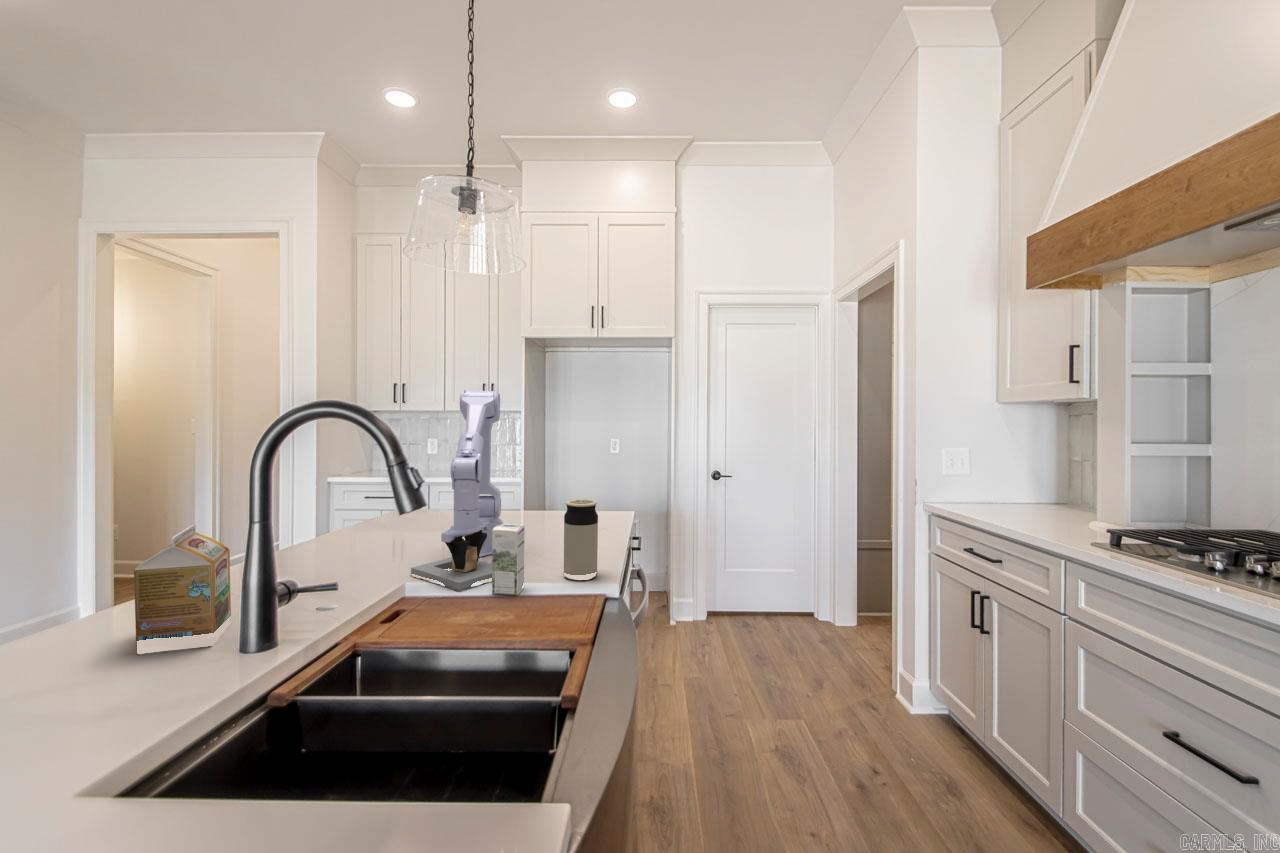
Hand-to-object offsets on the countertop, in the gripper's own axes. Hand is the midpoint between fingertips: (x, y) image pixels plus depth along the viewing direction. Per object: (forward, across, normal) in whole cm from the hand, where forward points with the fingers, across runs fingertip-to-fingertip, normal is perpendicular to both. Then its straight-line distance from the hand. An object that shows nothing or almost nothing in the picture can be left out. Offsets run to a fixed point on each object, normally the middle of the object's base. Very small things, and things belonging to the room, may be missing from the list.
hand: (466, 566), depth 141 cm
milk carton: (+3, +48, -20) cm, 53 cm away
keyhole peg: (+2, 0, 0) cm, 2 cm away
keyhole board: (+3, 0, -2) cm, 4 cm away
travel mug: (+3, -13, +23) cm, 27 cm away
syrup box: (+3, +3, +14) cm, 15 cm away
